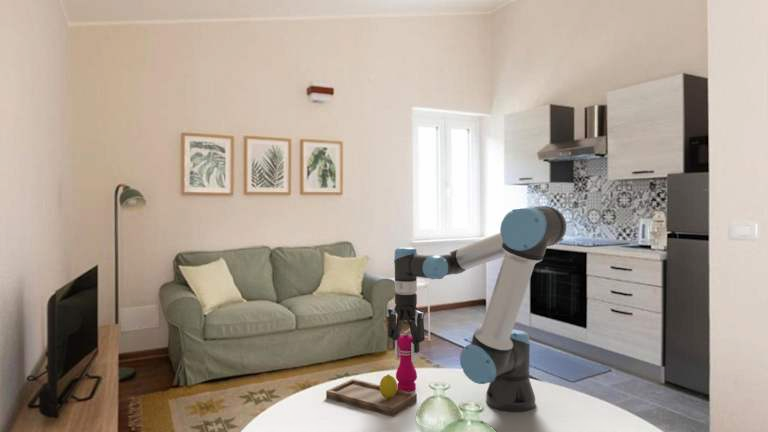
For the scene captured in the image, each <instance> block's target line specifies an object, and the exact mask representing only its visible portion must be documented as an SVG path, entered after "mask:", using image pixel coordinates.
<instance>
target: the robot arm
mask: <svg viewBox="0 0 768 432" xmlns="http://www.w3.org/2000/svg"><path fill="white" fill-rule="evenodd" d="M566 232H567V221H566V218H565V216H564V215H563V214H562V212H560V210H558V209H556V208H554V207H552V206H549V205H545V206H544V205H543V206H540V205H539V206H531V205H524V206H519V207H515V208H514V209H511V210H510V211H508V213H506V215H504V217H503V219H502V221H501V223H500V231H499V232H498V233H495V234H492V235H491V236H488V237H485V238H482V239H480V240H478V241H475V242H472V243H470V244H467V245H465V246H463V247H459V248H458V249H455V250H452V251H449V252H445V253H436V254H418V253H417V248H415V247H411V246H410V247H406V246H405V247H397V248H395V249H394V259H393V261H394V263H393V264H394V293H395V294H394V305H395V306H394V307H391V308H388V309H387V313H388V327H387V336H388V338H391V339H392V343H393V344H392V345H393V347H392V348H393V350H394V360H399V359H400V354H399V349H400V348H399V347H398V345H397V341H398V338H399V337H400V336H401V331H402V328H403V324H404V321H406V323H407V325H408V327H409V330H410V334H411V335H410V336H412V339H413V343H411V363H413V364H414V363H416V362H418V358H419V357H418V353H419V352H420V343H422V342H424V341H425V326H424V325H425V323H424V322H425V321H424V319H425V315H426V314H425V312H424V311H420V310H418V308H417V305H418V301H417V300H418V296H417V295H418V294H417V292H418V291H417V290H418V284H417V283H418V282H417V279H418V278H422V279H423V278H424V279H429V280H442V279H444V277H446V276H451V275H458V274H462V273H464V272H466V271H467V270H470V269H472V268H475V267H478V266H480V265H481V266H482V265H484V264H486V263H489V262H493V261H496V260H498V259H501V258H503V260H502V263H501V266H500V268H499V272H498V274H497V278H496V281H495V284H494V287H493V290H492V294H491V297H490V300H489V302H488V306H487V309H486V312H485V315H484V318H483V322H482V325H481V327H478V328H476V329H474V332H473V335H472V339H471V342H470V344H467V345H465V346H464V347H463V348H462V350H461V352H460V354H459V364H460V367H461V368H462V371H463V374H464V375H465V376H466V377H467V378H468V379H469V380H470V381H471V382H473V383H474V384H475V383H476V384H478V385H484V384H488V387H487V390H486V394H485V398H486V399H485V400H486V403H487V404H488V405H489V406H490V407H492V408H494V409H497V410H501V411H505V412H506V411H507V412H524V411H525V412H526V411H529V410H532V409H533V408H535V406H536V396H535V392H534V389H533V387H532V384H531V383H532V382H531V381H530V345H531V343H530V336H529V334H528V333H527V332H525V331H523V330H519V329H514V326H515V324H516V321H517V318H518V315H519V313H520V309H521V307H522V303H523V300H524V297H525V295H526V292H527V288H528V285H529V283H530V280H531V277H532V274H533V271H534V268H535V265H536V264H538V263H540V262H542V261H543V259H544V256H545V254H546V250H547V249H548V247H551V246H554V245H557V244H558V243H559V242H561V240H562V239H564V237H565V235H566ZM396 315H397V316H396Z"/></svg>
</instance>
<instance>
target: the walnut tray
mask: <svg viewBox="0 0 768 432" xmlns="http://www.w3.org/2000/svg"><path fill="white" fill-rule="evenodd" d="M325 391H326V394H325V395H326V396H325V397H326V399H327V400H330V401H334V402H337V403H341V404H345V405H348V406H351V407H352V406H353V407H356V408H358V409H359V408H360V409H363V410H366V411H371V412H373V413H378V414H381V415H385V416H387V417H395V416H396V415H398V414H399V413H402V411H404V410H406V409H407V408H409V407H411V406H413V405H414V404H416V403H417V402H418V397H417V396H418V395H417V393H414V392H406V391H402V390H398V389H397V392H396V394H395V396H394V397H392V398H391V399H390V400H388V399H387V398H385V397H383V396H382V394H381V392H380V384H376V383H372V382H367V381H364V380H360V379H355V378H352V379H350V380H347V381H345V382H343V383H340V384H339V385H336V386H334V387H332V388H329V389H327V390H325Z"/></svg>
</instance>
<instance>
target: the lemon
mask: <svg viewBox="0 0 768 432" xmlns="http://www.w3.org/2000/svg"><path fill="white" fill-rule="evenodd" d="M397 383H398V382H397V379H396V377H394V376H393V375H391V374H387V375H385V376H383V377H382V378H381V379H380V383H379V385H380V392H381V394H382V396H383V397H385V398H387V399H388V400H390V399H391V398H392V397H394V396H395V394H396V392H397Z"/></svg>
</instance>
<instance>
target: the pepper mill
mask: <svg viewBox="0 0 768 432" xmlns="http://www.w3.org/2000/svg"><path fill="white" fill-rule="evenodd" d="M402 334H403V335H400V336H399V338H398V341H397V345H398V347H399V348H400V349H399V354H400V361H399V365H398V366H397V369H396V372H395V380H396V381H397V382H396V383H397V389H398V390H402V391H406V392H410V393H412V392H414V391H416V386H417V385H416V382H415V381H417V378H418V374H417V370H416V368H415V366H414V363H411V343H413V339H412V335H409V334H410V333H409V331H408V330H404V331H403V333H402Z"/></svg>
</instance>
